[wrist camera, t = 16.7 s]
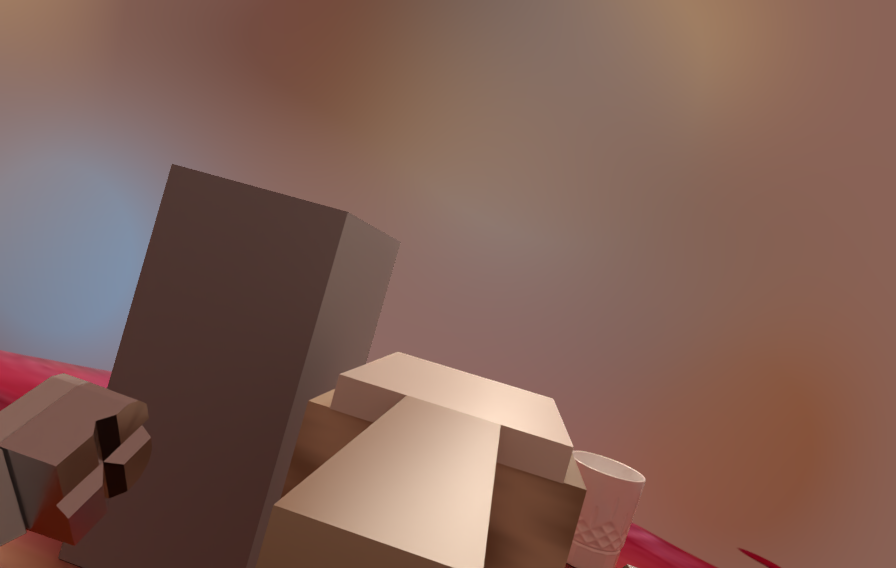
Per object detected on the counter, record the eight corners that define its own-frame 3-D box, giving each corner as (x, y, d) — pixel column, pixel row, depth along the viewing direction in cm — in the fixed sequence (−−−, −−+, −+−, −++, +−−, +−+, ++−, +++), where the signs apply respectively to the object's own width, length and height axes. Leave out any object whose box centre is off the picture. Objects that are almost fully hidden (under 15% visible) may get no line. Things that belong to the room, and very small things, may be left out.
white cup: (635, 582, 57) (662, 486, 57) (570, 576, 54) (599, 475, 54) (590, 541, 64) (614, 456, 64) (531, 534, 61) (556, 445, 61)
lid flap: (107, 530, 11) (129, 454, 11) (391, 374, 36) (398, 351, 36) (628, 723, 10) (653, 637, 10) (546, 422, 34) (553, 398, 34)
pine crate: (197, 788, 24) (308, 400, 24) (324, 596, 40) (390, 363, 40) (469, 904, 22) (586, 490, 22) (488, 656, 38) (557, 414, 38)
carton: (58, 558, 36) (172, 163, 36) (198, 480, 52) (277, 207, 52) (229, 623, 34) (348, 212, 34) (320, 523, 50) (400, 242, 50)
